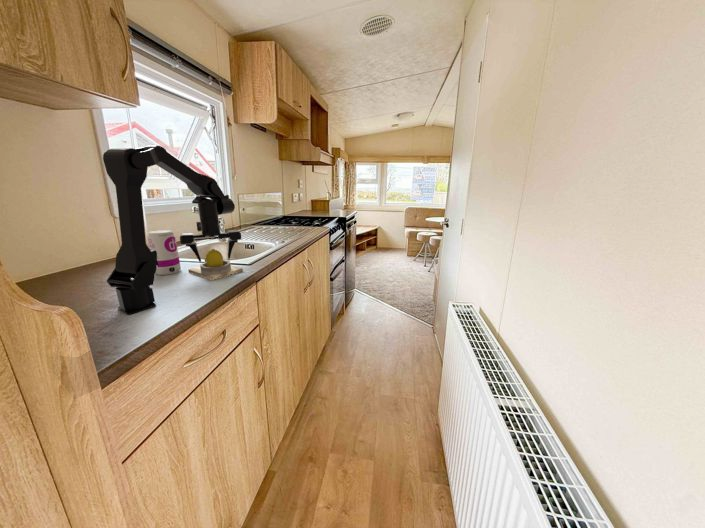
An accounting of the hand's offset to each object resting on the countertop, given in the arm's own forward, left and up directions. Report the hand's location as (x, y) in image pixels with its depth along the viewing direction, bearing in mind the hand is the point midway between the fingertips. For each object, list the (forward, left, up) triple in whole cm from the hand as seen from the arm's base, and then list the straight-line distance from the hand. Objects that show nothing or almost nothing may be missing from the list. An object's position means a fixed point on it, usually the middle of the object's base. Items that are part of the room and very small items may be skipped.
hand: (214, 260), depth 99 cm
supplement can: (-9, +16, -5) cm, 19 cm away
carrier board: (+1, +2, -5) cm, 6 cm away
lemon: (0, 0, -4) cm, 4 cm away
